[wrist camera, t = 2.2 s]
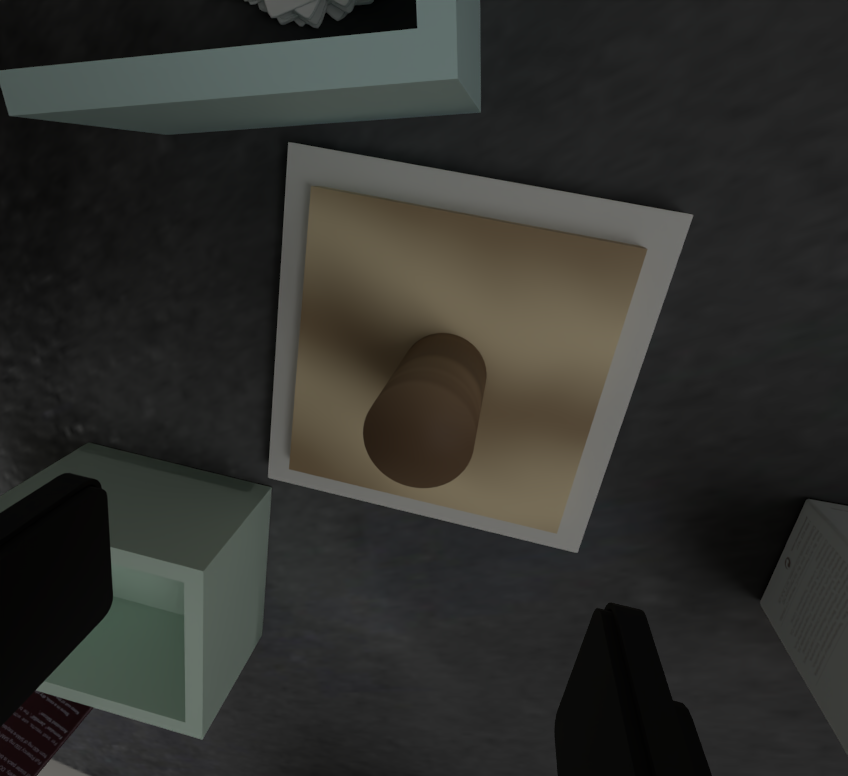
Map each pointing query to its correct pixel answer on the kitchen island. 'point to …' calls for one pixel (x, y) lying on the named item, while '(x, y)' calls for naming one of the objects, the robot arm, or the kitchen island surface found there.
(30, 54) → the kitchen island surface
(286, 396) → the mat
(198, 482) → the open box
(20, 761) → the supplement box
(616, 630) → the robot arm
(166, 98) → the l-shaped corner panel
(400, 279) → the lid
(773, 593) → the small box
